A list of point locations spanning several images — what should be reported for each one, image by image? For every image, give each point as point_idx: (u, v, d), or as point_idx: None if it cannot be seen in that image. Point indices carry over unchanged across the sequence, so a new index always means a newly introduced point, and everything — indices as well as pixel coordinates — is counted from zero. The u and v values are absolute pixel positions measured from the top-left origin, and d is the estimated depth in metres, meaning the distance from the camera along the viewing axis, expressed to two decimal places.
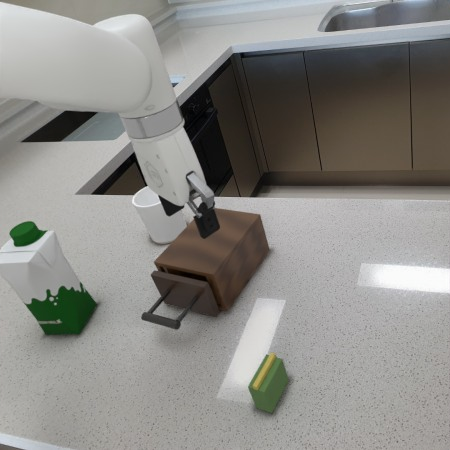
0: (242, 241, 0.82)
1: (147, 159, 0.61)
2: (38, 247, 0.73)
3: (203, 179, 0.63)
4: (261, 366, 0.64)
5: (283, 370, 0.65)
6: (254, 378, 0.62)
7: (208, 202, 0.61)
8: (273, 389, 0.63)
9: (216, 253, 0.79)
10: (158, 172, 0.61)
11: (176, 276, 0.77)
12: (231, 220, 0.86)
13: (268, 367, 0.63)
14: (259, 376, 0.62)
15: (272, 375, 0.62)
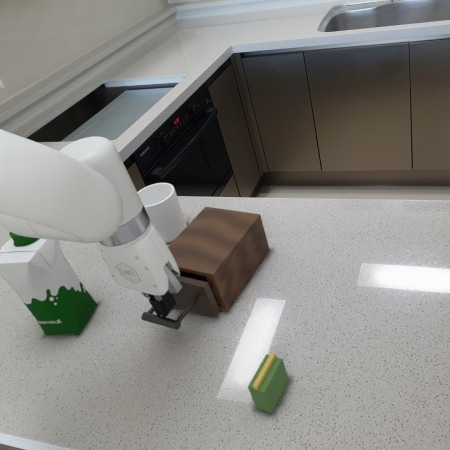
0: (242, 241, 0.82)
1: (122, 261, 0.65)
2: (38, 247, 0.73)
3: (176, 266, 0.68)
4: (261, 366, 0.64)
5: (283, 370, 0.65)
6: (254, 378, 0.62)
7: None
8: (273, 389, 0.63)
9: (216, 253, 0.79)
10: (135, 270, 0.65)
11: None
12: (231, 220, 0.86)
13: (268, 367, 0.63)
14: (259, 376, 0.62)
15: (272, 375, 0.62)
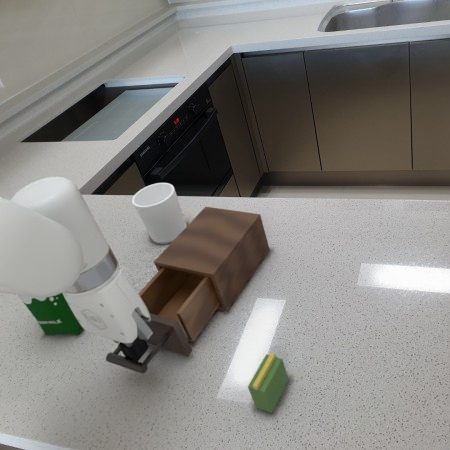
0: (242, 241, 0.82)
1: (86, 307, 0.60)
2: None
3: (147, 311, 0.64)
4: (261, 366, 0.64)
5: (283, 370, 0.65)
6: (254, 378, 0.62)
7: None
8: (273, 389, 0.63)
9: (216, 253, 0.79)
10: (101, 317, 0.61)
11: None
12: (231, 220, 0.86)
13: (268, 367, 0.63)
14: (259, 376, 0.62)
15: (272, 375, 0.62)
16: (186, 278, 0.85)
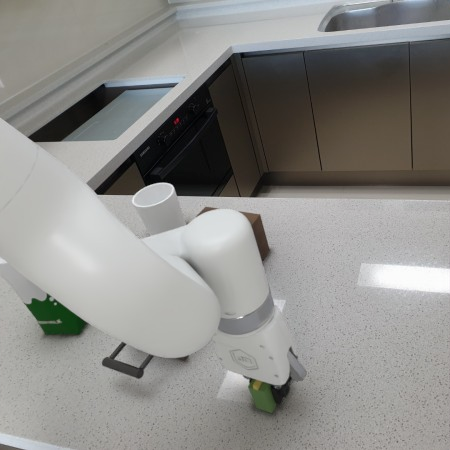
0: None
1: (239, 347, 0.55)
2: None
3: (296, 349, 0.59)
4: None
5: None
6: None
7: None
8: None
9: None
10: (255, 358, 0.56)
11: None
12: None
13: None
14: None
15: None
16: None
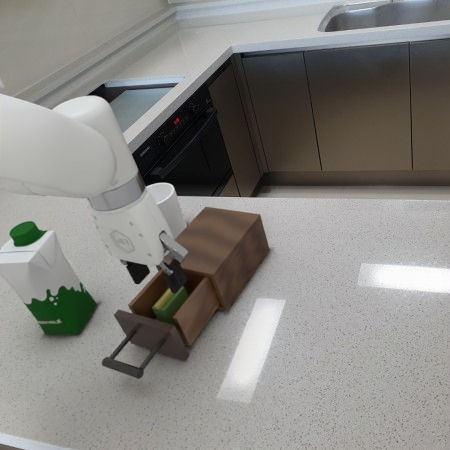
0: (242, 241, 0.82)
1: (115, 228, 0.63)
2: (38, 247, 0.73)
3: (172, 236, 0.67)
4: (166, 292, 0.76)
5: (186, 297, 0.77)
6: None
7: (182, 260, 0.66)
8: (175, 311, 0.75)
9: (216, 253, 0.79)
10: (130, 238, 0.63)
11: (141, 317, 0.71)
12: (231, 220, 0.86)
13: (170, 292, 0.75)
14: (161, 299, 0.74)
15: (173, 298, 0.74)
16: None
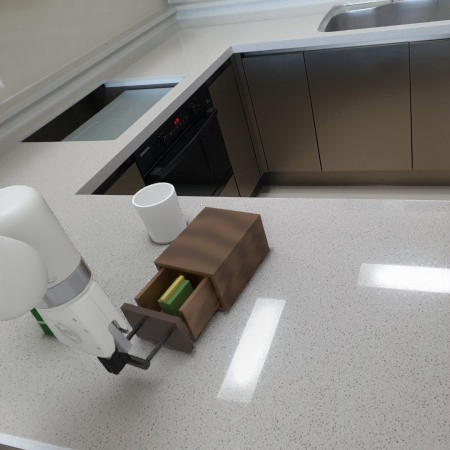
0: (242, 241, 0.82)
1: (59, 321, 0.57)
2: None
3: (125, 323, 0.60)
4: None
5: (191, 291, 0.78)
6: (164, 295, 0.76)
7: None
8: (180, 304, 0.76)
9: (216, 253, 0.79)
10: (75, 332, 0.57)
11: (147, 310, 0.72)
12: (231, 220, 0.86)
13: (176, 286, 0.76)
14: (167, 292, 0.75)
15: (178, 292, 0.76)
16: (188, 276, 0.86)
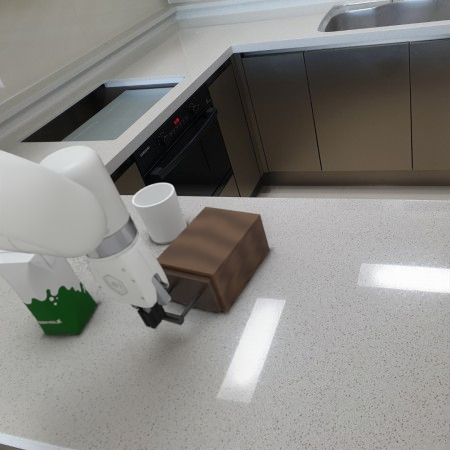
0: (242, 241, 0.82)
1: (108, 273, 0.63)
2: None
3: (165, 277, 0.66)
4: None
5: None
6: None
7: None
8: None
9: (216, 253, 0.79)
10: (122, 282, 0.63)
11: (180, 272, 0.78)
12: (231, 220, 0.86)
13: None
14: None
15: None
16: None
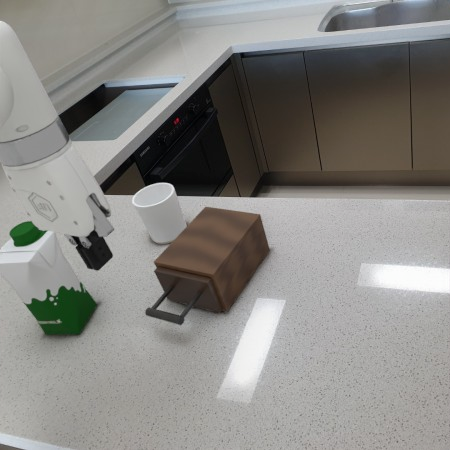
0: (242, 241, 0.82)
1: (33, 190, 0.52)
2: (38, 247, 0.73)
3: (106, 201, 0.55)
4: None
5: None
6: None
7: None
8: None
9: (216, 253, 0.79)
10: (50, 202, 0.52)
11: (180, 272, 0.78)
12: (231, 220, 0.86)
13: None
14: None
15: None
16: None
